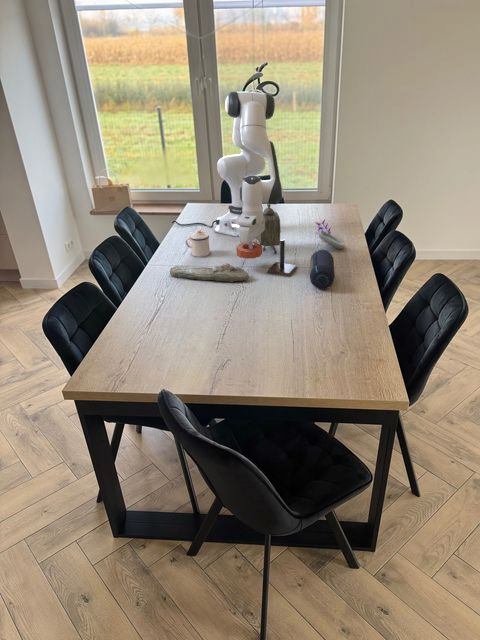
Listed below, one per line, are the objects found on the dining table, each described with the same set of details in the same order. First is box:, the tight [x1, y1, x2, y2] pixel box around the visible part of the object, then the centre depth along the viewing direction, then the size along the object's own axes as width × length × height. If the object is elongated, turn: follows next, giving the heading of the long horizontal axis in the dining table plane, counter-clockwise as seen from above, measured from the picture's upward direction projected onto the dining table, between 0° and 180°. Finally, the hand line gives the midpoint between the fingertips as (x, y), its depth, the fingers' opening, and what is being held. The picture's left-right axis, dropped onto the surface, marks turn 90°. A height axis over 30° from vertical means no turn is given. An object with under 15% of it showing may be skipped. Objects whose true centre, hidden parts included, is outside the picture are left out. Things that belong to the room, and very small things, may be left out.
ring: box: [235, 242, 263, 260], centre depth 214 cm, size 11×11×3 cm
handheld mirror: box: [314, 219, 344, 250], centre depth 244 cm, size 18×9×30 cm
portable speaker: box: [309, 248, 336, 290], centre depth 204 cm, size 25×10×10 cm, turn 175°
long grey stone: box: [169, 262, 250, 283], centre depth 209 cm, size 35×5×10 cm
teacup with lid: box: [184, 229, 211, 258], centre depth 231 cm, size 12×9×12 cm
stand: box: [267, 238, 297, 277], centre depth 212 cm, size 10×10×14 cm
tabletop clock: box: [257, 203, 281, 255], centre depth 230 cm, size 14×9×25 cm, turn 9°
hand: (253, 246), depth 217 cm, fingers closed on ring, 2 cm apart
